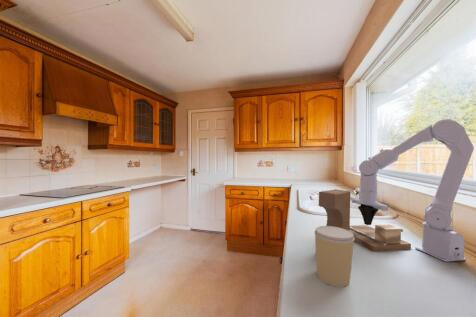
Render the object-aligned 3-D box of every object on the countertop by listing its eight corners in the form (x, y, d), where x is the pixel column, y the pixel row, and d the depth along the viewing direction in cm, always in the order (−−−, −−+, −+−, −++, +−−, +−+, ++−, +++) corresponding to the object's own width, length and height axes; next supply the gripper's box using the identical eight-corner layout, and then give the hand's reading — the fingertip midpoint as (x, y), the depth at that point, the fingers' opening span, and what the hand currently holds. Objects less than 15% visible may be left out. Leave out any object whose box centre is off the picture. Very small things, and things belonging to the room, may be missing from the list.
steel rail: (386, 245, 70) (386, 243, 70) (383, 245, 70) (383, 243, 70) (345, 225, 90) (345, 224, 90) (343, 225, 89) (343, 224, 89)
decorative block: (333, 259, 63) (334, 194, 63) (316, 252, 68) (317, 191, 68) (350, 250, 70) (351, 191, 70) (333, 244, 74) (335, 189, 74)
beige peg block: (407, 242, 72) (408, 228, 72) (385, 243, 71) (386, 229, 71) (395, 237, 77) (396, 224, 77) (374, 238, 75) (375, 224, 75)
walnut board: (410, 248, 72) (410, 243, 72) (373, 251, 69) (373, 245, 69) (365, 229, 91) (365, 224, 91) (335, 230, 89) (335, 226, 89)
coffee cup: (340, 267, 58) (341, 225, 58) (361, 289, 49) (363, 238, 49) (308, 267, 58) (309, 225, 58) (323, 289, 48) (324, 238, 48)
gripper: (394, 193, 77) (393, 229, 76) (360, 187, 90) (360, 218, 90) (379, 193, 74) (379, 231, 74) (347, 188, 88) (347, 219, 88)
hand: (367, 224), depth 82 cm, fingers closed
